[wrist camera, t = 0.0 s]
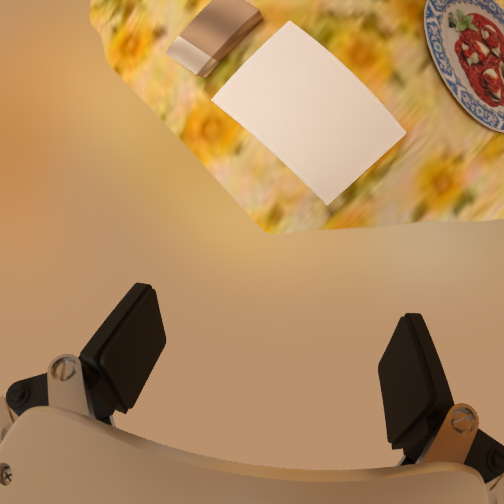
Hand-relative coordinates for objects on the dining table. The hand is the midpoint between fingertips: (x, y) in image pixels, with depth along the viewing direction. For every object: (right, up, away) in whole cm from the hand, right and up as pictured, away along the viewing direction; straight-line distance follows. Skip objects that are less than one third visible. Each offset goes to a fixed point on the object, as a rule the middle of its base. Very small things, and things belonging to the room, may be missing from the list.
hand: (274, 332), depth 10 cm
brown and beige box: (-5, +33, +20) cm, 38 cm away
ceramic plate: (+36, +34, +12) cm, 50 cm away
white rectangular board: (+7, +22, +23) cm, 32 cm away
